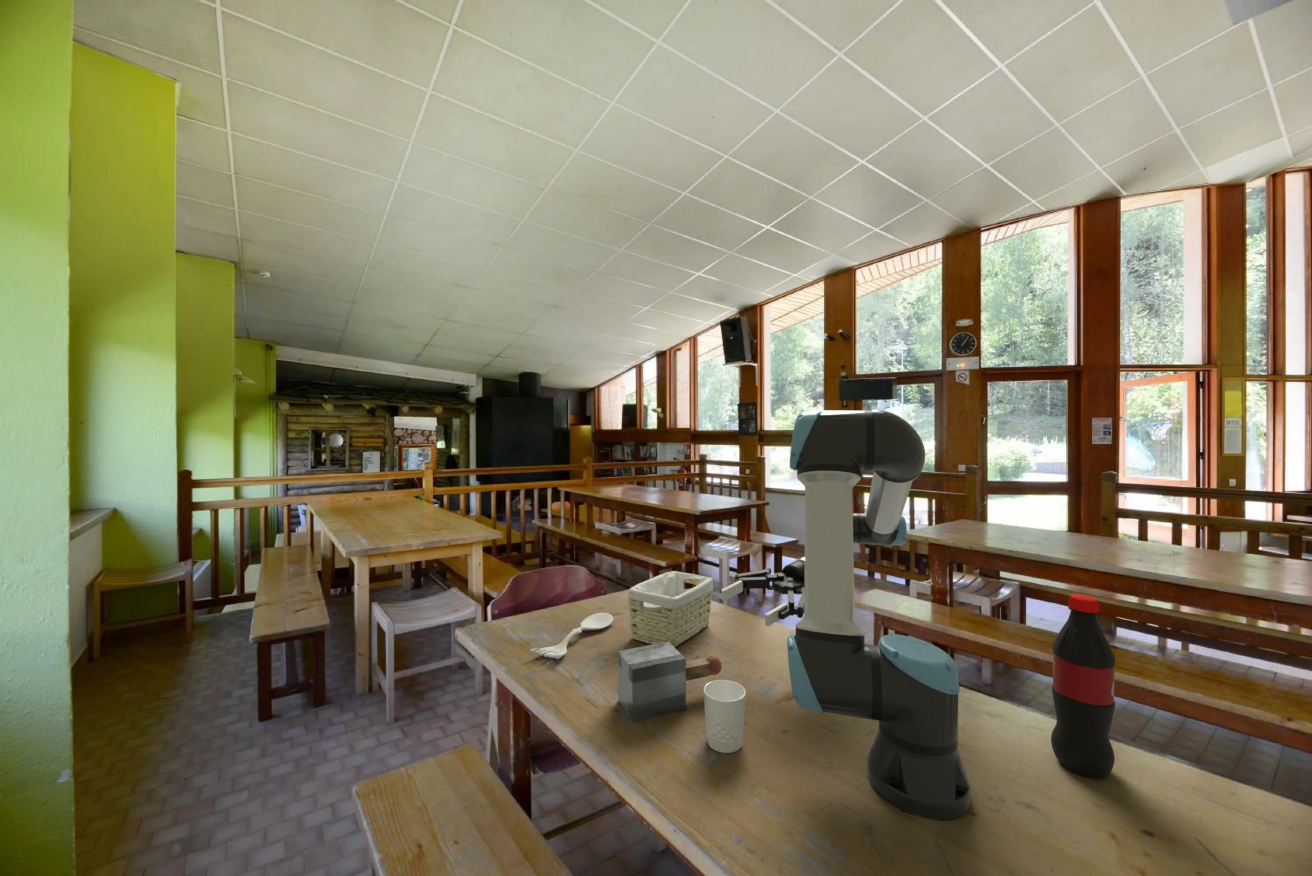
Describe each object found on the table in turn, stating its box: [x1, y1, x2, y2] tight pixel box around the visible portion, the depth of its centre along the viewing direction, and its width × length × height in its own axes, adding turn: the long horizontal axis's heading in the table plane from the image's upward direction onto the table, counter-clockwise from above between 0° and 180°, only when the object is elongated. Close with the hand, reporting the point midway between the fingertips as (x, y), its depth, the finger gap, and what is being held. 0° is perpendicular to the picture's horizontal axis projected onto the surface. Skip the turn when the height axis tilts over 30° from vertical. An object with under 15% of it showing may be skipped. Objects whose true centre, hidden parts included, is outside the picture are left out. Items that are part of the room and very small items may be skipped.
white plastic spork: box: [529, 612, 614, 660], centre depth 141 cm, size 9×32×4 cm, turn 156°
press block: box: [617, 642, 687, 724], centre depth 107 cm, size 12×9×11 cm
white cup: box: [703, 679, 747, 754], centre depth 95 cm, size 8×8×10 cm
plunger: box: [686, 655, 723, 682], centre depth 111 cm, size 14×4×4 cm, turn 113°
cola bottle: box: [1050, 593, 1117, 778], centre depth 87 cm, size 8×8×30 cm
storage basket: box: [627, 570, 714, 649], centre depth 146 cm, size 24×16×15 cm
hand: (743, 607), depth 113 cm, fingers open, 13 cm apart
